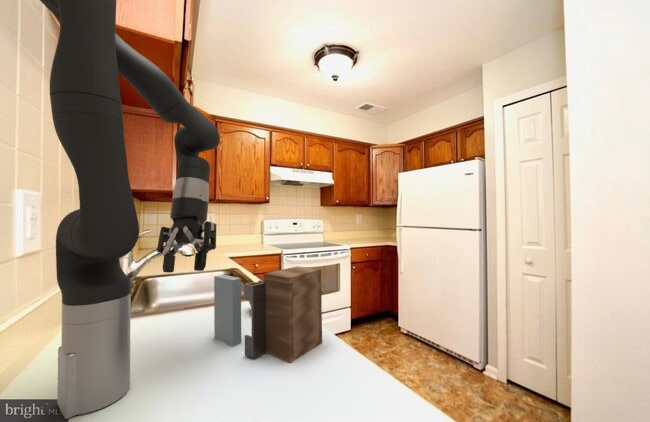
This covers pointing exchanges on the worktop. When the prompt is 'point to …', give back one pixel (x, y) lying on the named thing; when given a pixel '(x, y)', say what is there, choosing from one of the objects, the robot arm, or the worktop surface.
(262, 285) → the hinge clips
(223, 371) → the worktop surface
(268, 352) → the cabinet
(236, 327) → the door
